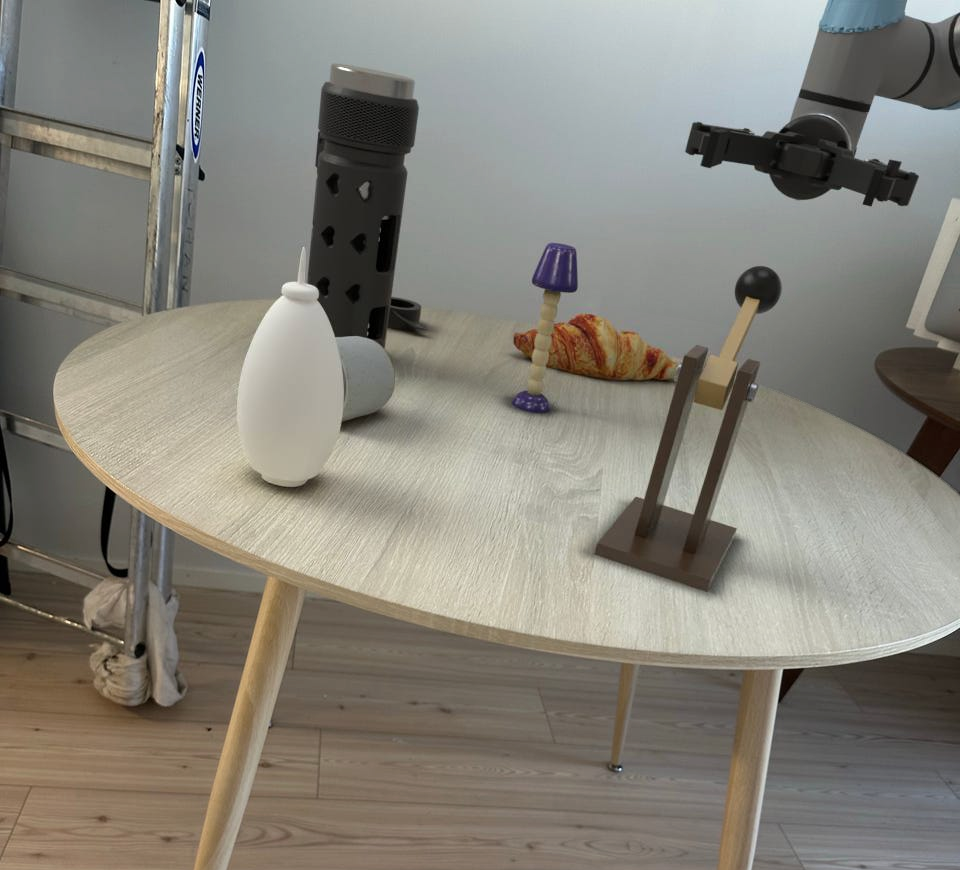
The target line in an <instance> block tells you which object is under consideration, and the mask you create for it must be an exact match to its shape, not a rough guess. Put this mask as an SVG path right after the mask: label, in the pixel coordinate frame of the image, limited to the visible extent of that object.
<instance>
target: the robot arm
mask: <svg viewBox="0 0 960 870" xmlns="http://www.w3.org/2000/svg"><path fill="white" fill-rule="evenodd" d="M907 3H908V0H827V3H826V5H825V8H824V11H823V14H822V17H821V19H820V20H819V23H818V30H817V34H816V37H815V40H814V43H813V47H812V50H811V52H810V56H809V60H808V64H807V66H806V70H805V74H804V75H803V76H804V77H803V79H802V82H801V86H800V90H799V92H798V96H797V97H796V100H795V103H794V107H793V109H792V113H791V116H790V120H789V121H788V122H787V123H786V124H785V125H784V126H783V127H782V128H781V129H780V130H779V131H778V132H775V131H770V130H767V131H765V132H764V133H763V135H758V134H757V135H756V132H753V131H752V130H751V129H750V128H747V127H744V128H734V127H725V126H720V125H718V126H717V125H712V124H705V123H703V122H702V121H694V122H692V124H691V127H690V132H689V135H688V137H687V138H688V139H687V142H686V145H685V146H686V147H685V150H684V153H685V154H688V155H689V156H694V155H697V156H702V158H701V161H700V165H699V166H700V167H702V168H707V169H712V168H713V167H716V166H719V165H722V163H723V162H728V163H735V164H742V165H747V166H753V167H754V170H755V171H757V172H759V173H763V174H767V175H769V178H770V180H771V182H772V183H773V186H774V187H775V188H776V189H777V190H778V192H780V193H781V194H782V195H784V196H785V197H787V198H789V199H793V200H795V201H809V200H813V199H814V200H815V199H817V198H819V197H822V196H823V195H825V194H827V193H829V192H830V191H831V190H835V191H840V190H841V189H842V188H844V189H846V190H850V191H853V192H855V193H857V194H861V195H864V199H863V202H862V206H867V207H872V206H873V204H874V200H877V201H878V202H880V203H883V202H888V201H890V202H893V203H895V204H897V206H900V207H907V206H909V204H910V202H911V199H912V196H913V194H914V191H915V189H916V186H917V184H918V181H919V178H920V175H918V174H917V173H916V172H913V171H906V170H903V169H901V165H902V163H903V161H900V160H896V159H895V160H894V159H890V158H889V160H888V162H887V164H886V163H884V162H882V161H880V159H879V158H871V159H867V158H865V159H864V160H863V159H859V158H857V157H856V154H857V150H858V143H859V140H860V139H861V138H860V137H861V135H862V132H863V130H864V126H865V123H866V120H867V117H868V115H869V113H870V110H871V107H872V104H873V102H874V99H875V97H879V98H884V99H889V100H893V101H898V102H901V103H906V104H908V105H909V104H910V105H914V106H917V107H920V108H923V109H925V110H929V111H942V110H943V111H955V110H960V11H959V12H957V13H955V14H953V15H951V16H949V17H947V18H944V19H943V20H941V21H938V22H929V21H925V20H923V19H918V18H915V17H912V16H909V15H906V7H907Z"/></svg>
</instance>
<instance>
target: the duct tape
mask: <svg viewBox="0 0 960 870" xmlns="http://www.w3.org/2000/svg"><path fill="white" fill-rule="evenodd" d="M421 314H422V305H421V304H420V303H418V302H415V301H414V300H410V299H407V298H401V297H396V296H391V304H390V312H389V319H388V327H387V329H391V330H397V331H407V332H408V331H409V332H410V331H416V330H422V331H429V330H428V329H427V328H425V327H423V326H421V324H420V320H421Z"/></svg>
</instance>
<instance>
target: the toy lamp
mask: <svg viewBox="0 0 960 870" xmlns="http://www.w3.org/2000/svg"><path fill="white" fill-rule="evenodd" d="M577 253H578V252H577V249H576V247H574V246H572V245H568V244H564V243H560V242H549V243H548V244H546V246H545V248H544V250H543V252H542V255H541V256H540V259H539V260H538V263H537V265H536V268H535V271H534V273H533V275H532V278H531V284H532V285H533V286H535V287H537V288H540V289H543V290H544V291H543V296H542V299H543V300H542V301H543V303H542V304H541V306H540V312H539V313H540V314H539V315H540V318H539V320H538V323H537V326H536V327H537V328H536V329H537V330H538V334H537V335H536V337H535V343H534V344H535V349H534V351H533V354H532V358H531V361H532V363H531V365H530V367H529V378H528V381H527V384H526V390H523V391H520V392H518V393H517V394H516V395H515V396H514V397H513V398H512V400H511V405H512V406H513V407H514V408H516V409H518V410H521V411H523V412H526V413H527V412H528V413H532V414H547V413H549V412H550V411H551V405H550V402H549V399H548V398H547V397H546V396H545V395H544V394H543V393H542V392H543V389H544V379H545V377H546V374H547V366H546V364H547V362H548V359H549V352H548V350H549V348H550V346H551V341H552V339H551V334H552V333H553V330H554V324H555V319H556V317H557V315H558V304H559V303H560V300H561V295H562V293H567V294H571V293H572V294H573V293H576V292H577V291H578V287H579V280H578V275H579V274H578V273H579V272H578V254H577Z"/></svg>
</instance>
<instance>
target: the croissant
mask: <svg viewBox="0 0 960 870" xmlns="http://www.w3.org/2000/svg"><path fill="white" fill-rule="evenodd" d="M537 334H538V330H537V328H533V329H530V330H528V331H526V332H523V333H522V332H514V333H513V338H512V339H513V345H514V347H515V348H516V349H517V350H518V351H520V352H522V354H524V355H525V357H527V358H530V359H532V354H533V351H534V349H535V344H534V343H535V337H536V335H537ZM551 339H552V341H551V346H550V348H549V350H548V352H549V359H548V362H547V364H546V367H548V368H551V369H556V370H561V371H566V372H568V373H570V374H573V375H580V376H586V377H587V376H588V377H591V378H599V379H603V380H612V381H613V380H614V381H628V380H634V381H644V380H645V381H650V380H651V379H653V380H656V381H666V380H670V379H672V378H674V377H675V373H676V370H677V367H678V365H679V362H677V361H673V360H672V359H671V358H670V357H669V356H668V354H667V353H666V352H664V350H663V349H662V348H655V347H652V346H651V344H650V343H648V342H646V341H645V340H643V338H642V336H640V335H639V333H638V332H634V331H628V330H624V329H621V332H618V330H617V329H616V328H615V326H614V323H612V322H611V321H610V320H609V319H607V318H605V317H602V316H599V315H597V314H592V313H582V312H581V313H579V314H577V315H576V316H575V317H573V318H572V317H571V318H570V319H569V321H568V322H567V323H566V322H562V321H561V322H557V323H554V330H553V333H552V334H551Z"/></svg>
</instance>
